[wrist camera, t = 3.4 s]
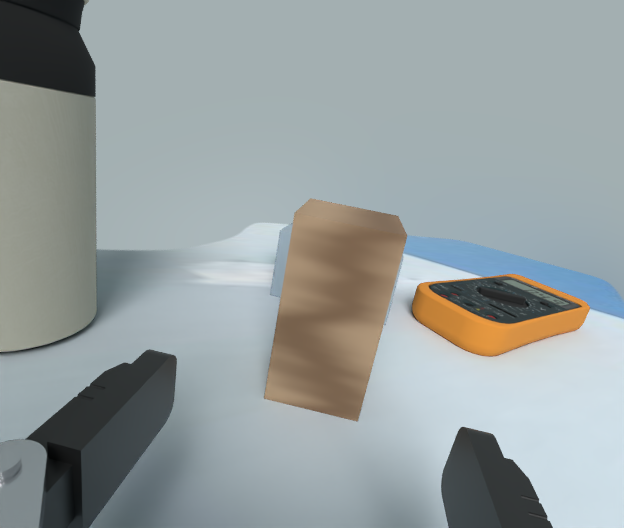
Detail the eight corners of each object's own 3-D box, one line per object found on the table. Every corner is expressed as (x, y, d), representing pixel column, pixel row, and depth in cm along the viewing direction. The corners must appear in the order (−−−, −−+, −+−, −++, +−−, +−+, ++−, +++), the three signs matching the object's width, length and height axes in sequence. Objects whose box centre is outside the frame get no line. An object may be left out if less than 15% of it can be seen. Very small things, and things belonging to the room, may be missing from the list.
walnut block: (264, 398, 20) (294, 212, 17) (283, 349, 24) (310, 198, 21) (357, 421, 19) (407, 235, 16) (359, 367, 24) (397, 215, 21)
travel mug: (125, 314, 25) (131, 3, 19) (-5, 377, 18) (-56, -93, 12) (35, 282, 27) (17, -9, 21) (-115, 326, 20) (-204, -98, 14)
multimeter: (397, 314, 34) (406, 279, 33) (503, 297, 44) (513, 270, 43) (480, 369, 27) (496, 327, 26) (582, 334, 38) (597, 303, 36)
